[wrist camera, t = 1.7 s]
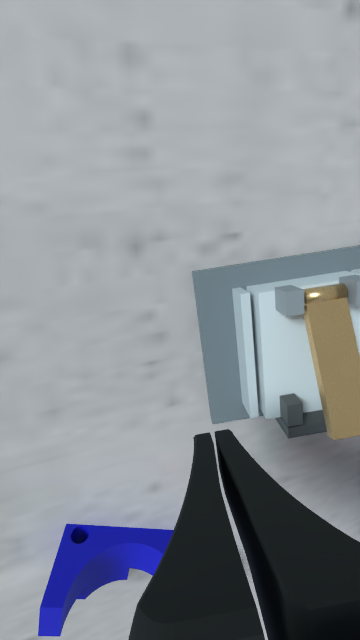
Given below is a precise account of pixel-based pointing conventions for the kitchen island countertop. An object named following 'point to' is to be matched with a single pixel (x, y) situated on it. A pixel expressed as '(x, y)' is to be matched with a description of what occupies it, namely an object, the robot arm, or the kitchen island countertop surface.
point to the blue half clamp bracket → (95, 565)
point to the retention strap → (334, 358)
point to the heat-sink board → (223, 317)
